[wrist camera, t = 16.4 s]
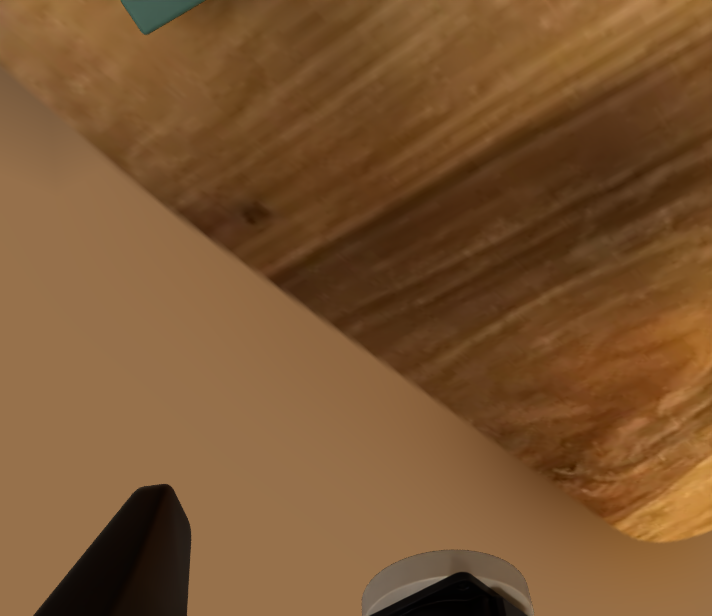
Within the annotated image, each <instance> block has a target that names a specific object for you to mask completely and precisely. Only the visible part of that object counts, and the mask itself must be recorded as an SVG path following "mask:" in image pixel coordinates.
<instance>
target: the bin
mask: <svg viewBox="0 0 712 616" xmlns="http://www.w3.org/2000/svg"><path fill="white" fill-rule="evenodd" d="M204 1H206V0H121V2H122V4H123V5H124V7H125V8H126V10H127V11H128V13H129V14H130V16H131V17H132V19H133V20H134V22H135V23H136V25H137V26H138V28H139V29H140V31H141V32H142V33H143V34H144V35H147V34H150V33H152V32H153V31H155V30H157V29H158V28H160V27H162V26H163V25H165V24H167V23H169V22H170V21H172V20H174V19H175V18H177V17H179V16H180V15H182V14H184V13H185V12H187V11H189V10H191V9H192V8H194V7H196V6H197V5H199V4H201V3H202V2H204Z"/></svg>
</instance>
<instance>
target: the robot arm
mask: <svg viewBox="0 0 712 616" xmlns="http://www.w3.org/2000/svg"><path fill="white" fill-rule="evenodd" d="M190 550H191V529H190V524H189V521H188V518H187V516H186V514H185V512H184V510H183V508H182V506H181V504H180V502H179V500H178V498H177V496H176V494H175V492H174V490H173V488H172V487H171V486H169V485H168V484H159V485H152V486H144V487H141V488H139V489H137V490H136V491H135V492H134V493H133V494H132V495H131V497H130V498H129V499H128V500H127V501H126V502H125V504H124V505H123V506H122V507H121V509H120V510H119V511H118V512H117V514H116V515H115V516H114V517H113V518H112V520H111V521H110V522H109V523H108V525H107V526H106V527H105V528H104V530H103V531H102V532H101V533H100V535H99V536H98V537H97V538H96V539H95V540H94V542H93V543H92V544H91V545H90V547H89V548H88V549H87V550H86V552H85V553H84V554H83V555H82V556H81V558H80V559H79V560H78V561H77V563H76V564H75V565H74V566H73V568H72V569H71V570H70V571H69V572H68V574H67V575H66V576H65V577H64V579H63V580H62V581H61V582H60V583H59V585H58V586H57V587H56V589H55V590H54V591H53V592H52V594H51V595H50V596H49V597H48V598H47V600H46V601H45V602H44V603H43V604H42V606H41V607H40V608H39V609H38V610H37V612H36V613H35V614H34V616H187V601H188V584H189V568H190ZM370 616H528V615H526V614H525V613H524V612H522V611H521V610H520V609H518V608H517V607H515V606H514V605H513V604H511V603H510V602H509V601H507V600H506V599H505V598H503V597H502V596H500V595H499V594H498V593H496V592H495V591H494V590H492V589H491V588H489V587H488V586H487V585H485V584H484V583H483V582H481V581H480V580H479V579H477V578H476V577H474V576H473V575H472V574H470V573H468V572H457V573H454V574H452V575H450V576H448V577H446V578H444V579H442V580H440V581H438V582H436V583H434V584H432V585H430V586H428V587H426V588H424V589H422V590H420V591H418V592H416V593H414V594H412V595H410V596H408V597H406V598H404V599H402V600H400V601H398V602H396V603H394V604H392V605H390V606H388V607H386V608H384V609H382V610H380V611H378V612H376V613H374V614H372V615H370Z"/></svg>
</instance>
